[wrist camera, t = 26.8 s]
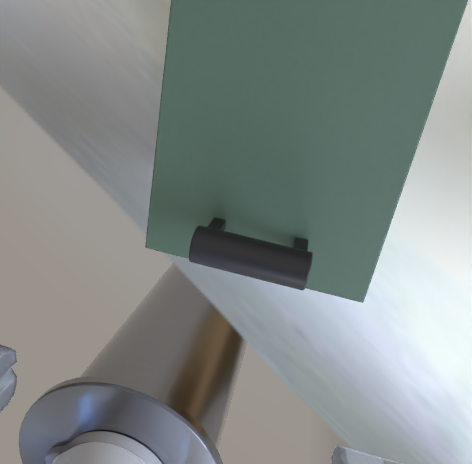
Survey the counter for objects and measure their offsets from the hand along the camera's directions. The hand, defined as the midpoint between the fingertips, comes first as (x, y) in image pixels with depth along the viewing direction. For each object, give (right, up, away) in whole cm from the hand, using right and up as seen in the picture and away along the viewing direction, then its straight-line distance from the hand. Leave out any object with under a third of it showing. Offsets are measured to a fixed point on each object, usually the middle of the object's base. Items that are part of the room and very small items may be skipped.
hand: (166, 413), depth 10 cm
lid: (+4, +10, +11) cm, 15 cm away
